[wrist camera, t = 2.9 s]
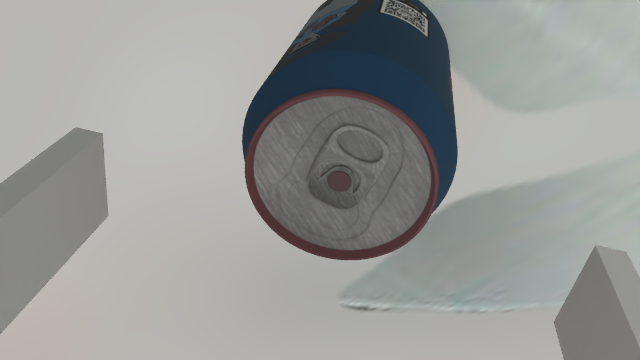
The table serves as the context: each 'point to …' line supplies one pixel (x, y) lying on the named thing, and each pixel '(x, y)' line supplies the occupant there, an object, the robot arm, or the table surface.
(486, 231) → the table surface
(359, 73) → the soda can
